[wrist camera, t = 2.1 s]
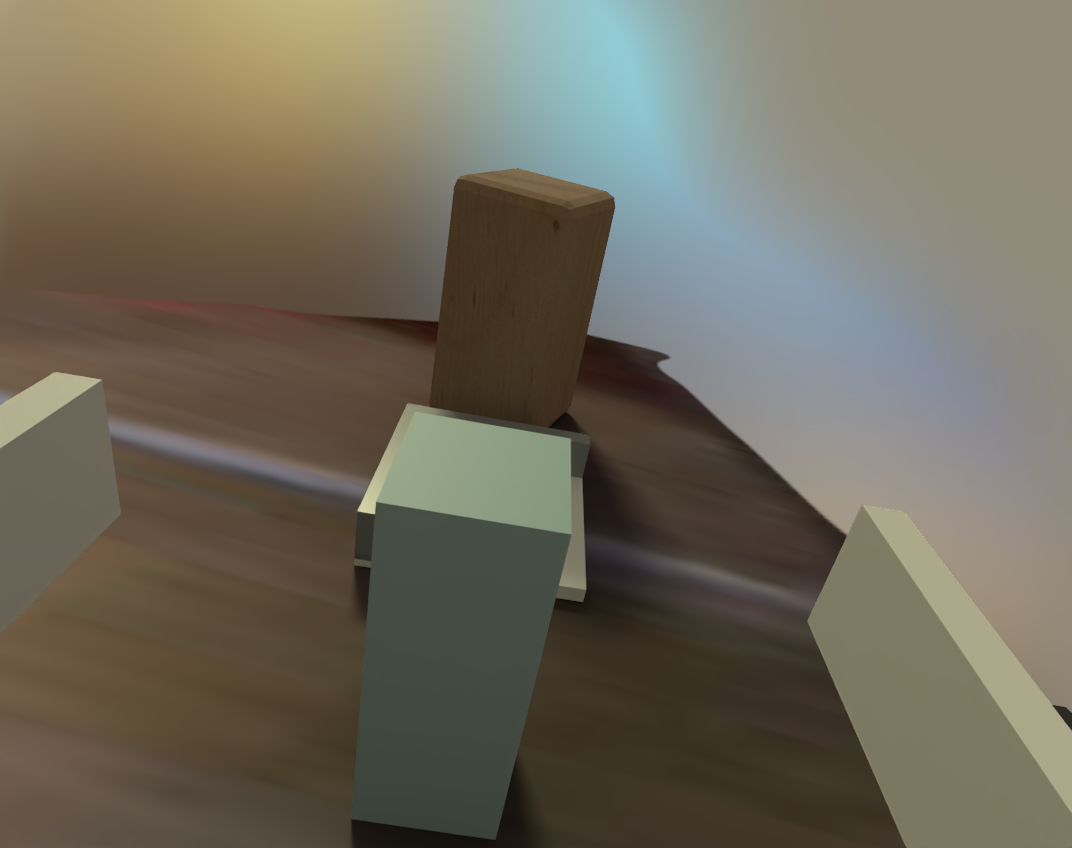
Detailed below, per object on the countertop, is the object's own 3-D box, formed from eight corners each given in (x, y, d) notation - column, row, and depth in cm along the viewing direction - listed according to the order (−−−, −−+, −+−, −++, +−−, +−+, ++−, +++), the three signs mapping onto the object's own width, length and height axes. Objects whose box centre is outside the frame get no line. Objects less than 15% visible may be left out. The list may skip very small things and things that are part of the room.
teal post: (351, 819, 28) (375, 501, 21) (385, 698, 33) (414, 411, 26) (495, 840, 28) (571, 534, 21) (506, 717, 34) (570, 438, 26)
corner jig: (354, 565, 41) (357, 511, 39) (403, 448, 54) (407, 403, 52) (582, 602, 42) (596, 551, 40) (579, 478, 54) (589, 435, 52)
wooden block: (526, 453, 56) (575, 205, 47) (423, 412, 59) (450, 172, 50) (572, 411, 64) (621, 193, 55) (480, 377, 67) (512, 165, 58)
